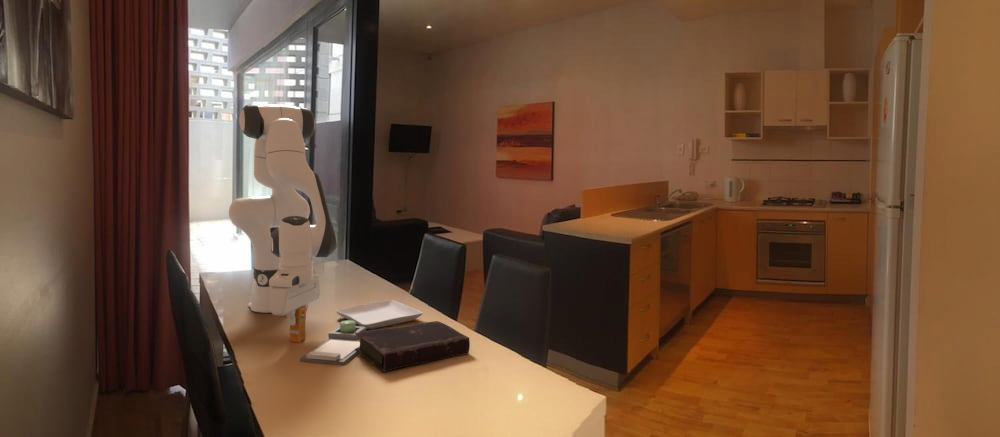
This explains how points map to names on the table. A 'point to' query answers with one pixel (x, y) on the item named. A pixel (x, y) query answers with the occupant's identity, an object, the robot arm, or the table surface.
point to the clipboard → (333, 352)
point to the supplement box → (298, 325)
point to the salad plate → (379, 314)
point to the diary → (411, 344)
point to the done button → (347, 326)
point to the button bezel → (345, 334)
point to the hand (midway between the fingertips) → (297, 322)
